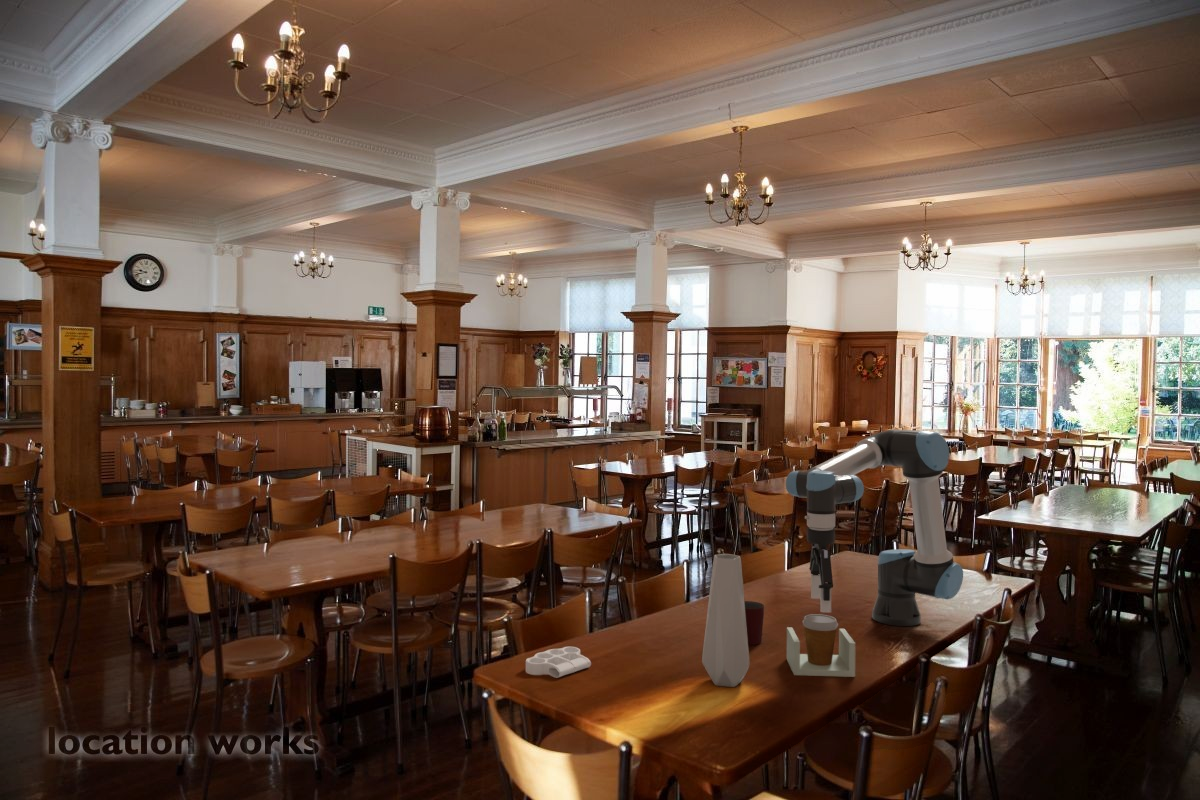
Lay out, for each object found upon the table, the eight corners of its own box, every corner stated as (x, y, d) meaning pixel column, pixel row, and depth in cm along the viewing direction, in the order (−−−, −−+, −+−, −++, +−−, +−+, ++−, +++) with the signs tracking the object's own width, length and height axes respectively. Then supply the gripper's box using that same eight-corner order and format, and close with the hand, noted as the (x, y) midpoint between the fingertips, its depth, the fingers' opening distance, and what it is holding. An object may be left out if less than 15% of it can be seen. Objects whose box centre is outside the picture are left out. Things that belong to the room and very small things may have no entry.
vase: (740, 694, 205) (740, 563, 204) (697, 685, 211) (698, 558, 210) (757, 679, 215) (758, 555, 214) (717, 671, 221) (717, 550, 221)
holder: (844, 660, 230) (844, 628, 230) (855, 676, 217) (855, 643, 217) (786, 658, 232) (786, 627, 231) (793, 675, 219) (794, 641, 218)
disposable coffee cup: (839, 669, 219) (839, 624, 219) (802, 666, 221) (803, 622, 221) (836, 657, 228) (836, 614, 228) (801, 655, 230) (801, 612, 230)
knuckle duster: (550, 683, 213) (514, 669, 223) (599, 667, 226) (563, 654, 236) (550, 671, 213) (514, 657, 223) (599, 655, 226) (563, 642, 236)
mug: (746, 650, 239) (746, 612, 239) (721, 643, 245) (722, 606, 245) (769, 641, 247) (769, 605, 247) (745, 634, 254) (745, 599, 253)
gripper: (799, 519, 236) (799, 592, 237) (815, 536, 212) (815, 617, 212) (825, 520, 236) (825, 593, 236) (844, 536, 211) (844, 618, 212)
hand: (820, 605), depth 224 cm, fingers open, 13 cm apart
